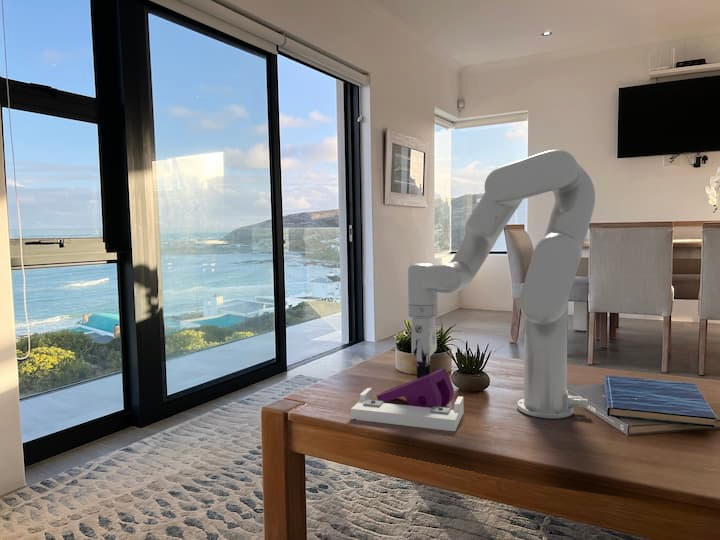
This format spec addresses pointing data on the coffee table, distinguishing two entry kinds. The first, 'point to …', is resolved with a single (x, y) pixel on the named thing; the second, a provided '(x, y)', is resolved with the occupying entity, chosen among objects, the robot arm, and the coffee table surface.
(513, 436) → the coffee table surface
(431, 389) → the mounting bracket
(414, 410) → the white bolted base plate
